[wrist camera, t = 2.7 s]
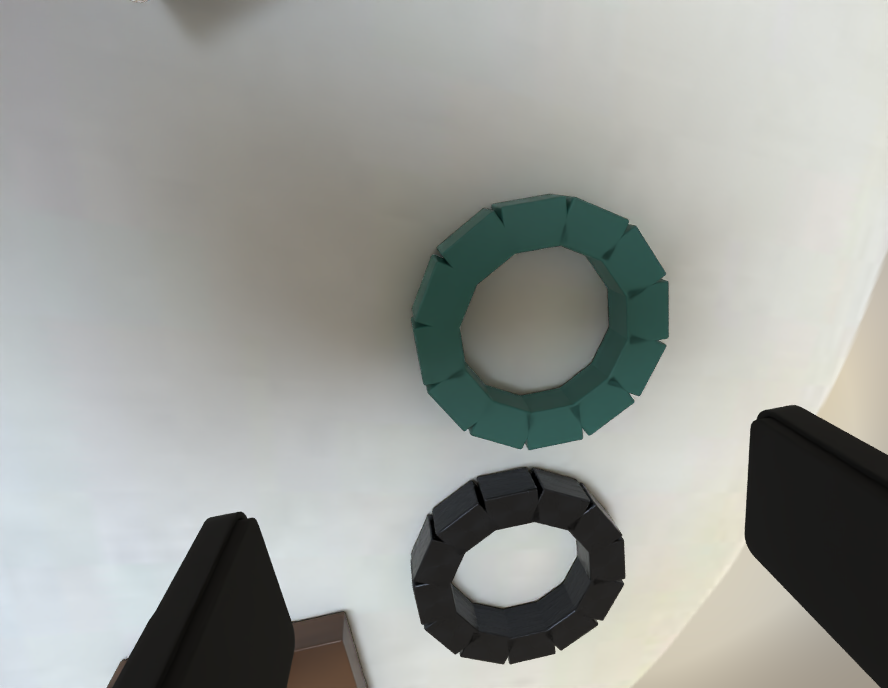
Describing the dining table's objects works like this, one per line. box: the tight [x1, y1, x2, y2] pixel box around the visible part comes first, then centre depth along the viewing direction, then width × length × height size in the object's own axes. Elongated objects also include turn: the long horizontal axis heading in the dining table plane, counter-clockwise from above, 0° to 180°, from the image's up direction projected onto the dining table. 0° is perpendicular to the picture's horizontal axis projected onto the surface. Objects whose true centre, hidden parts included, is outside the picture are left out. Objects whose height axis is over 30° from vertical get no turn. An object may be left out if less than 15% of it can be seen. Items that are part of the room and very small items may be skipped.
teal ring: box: [411, 194, 669, 450], centre depth 18 cm, size 9×9×2 cm
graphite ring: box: [411, 467, 625, 664], centre depth 22 cm, size 9×9×2 cm
